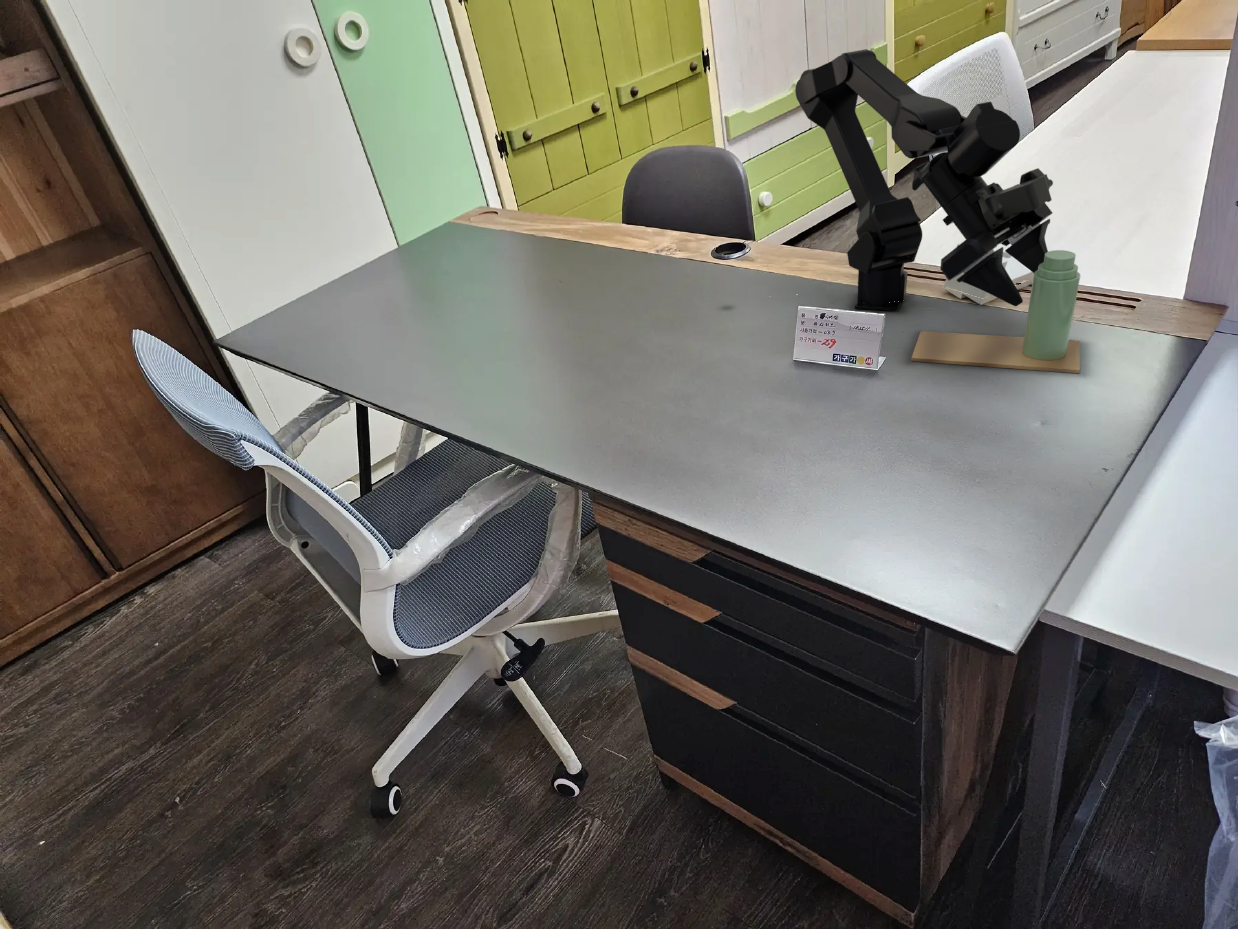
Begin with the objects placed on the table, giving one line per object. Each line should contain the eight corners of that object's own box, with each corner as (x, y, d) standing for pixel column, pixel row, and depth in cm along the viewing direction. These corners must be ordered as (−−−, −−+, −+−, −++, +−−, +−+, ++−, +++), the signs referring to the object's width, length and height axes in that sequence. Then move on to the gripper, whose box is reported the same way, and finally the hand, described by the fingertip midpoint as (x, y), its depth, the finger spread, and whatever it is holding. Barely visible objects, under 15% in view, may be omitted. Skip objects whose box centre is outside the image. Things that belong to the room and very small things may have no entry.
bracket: (978, 310, 127) (995, 265, 121) (943, 287, 131) (957, 243, 126) (1035, 286, 132) (1054, 243, 126) (999, 265, 136) (1015, 222, 131)
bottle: (1021, 358, 109) (1035, 260, 102) (1023, 342, 113) (1037, 247, 106) (1066, 362, 107) (1084, 262, 100) (1066, 345, 111) (1083, 248, 104)
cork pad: (911, 361, 113) (911, 357, 113) (920, 334, 120) (920, 330, 119) (1079, 373, 105) (1080, 369, 105) (1079, 344, 112) (1079, 340, 111)
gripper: (974, 171, 97) (1057, 280, 95) (1047, 135, 107) (1123, 233, 105) (907, 229, 106) (981, 329, 105) (981, 191, 116) (1049, 282, 115)
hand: (1036, 292), depth 107 cm, fingers open, 9 cm apart
